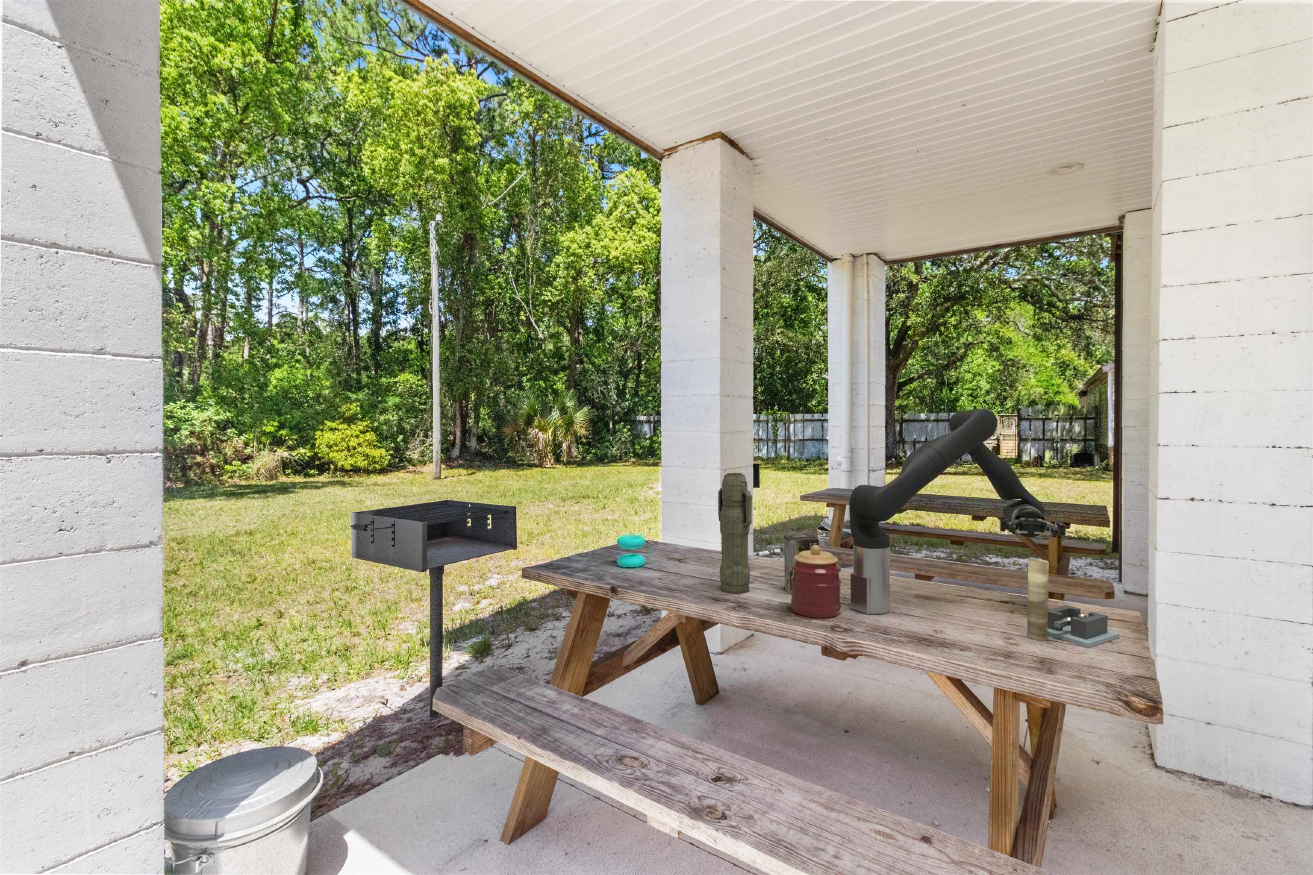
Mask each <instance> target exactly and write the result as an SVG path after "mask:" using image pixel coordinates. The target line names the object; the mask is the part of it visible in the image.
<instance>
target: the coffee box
mask: <svg viewBox="0 0 1313 875" xmlns="http://www.w3.org/2000/svg"><path fill="white" fill-rule="evenodd" d="M783 536H784V537H783V543H784V544H783V546H784V548H783V550H784V552H783V554H784V557H783V558H784V560H783V562H784V566H783V567H784V589H785V590H786V591H787V592H788V593H789V594H790V593H792V580H791V577H792V576H793V569H792V568H791V565H792V564H793V563H794V562H795V561H796V560H795V559H794V556H796V555H797V554H799V553H800V552H802V551H808V550H811V547H812V546H813V545H818V546H819V547H820V539H819V538H818V537H817V536H815V535H814V534H796V535H794V534H793V535H783Z"/></svg>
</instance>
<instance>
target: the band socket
mask: <svg viewBox="0 0 1313 875" xmlns="http://www.w3.org/2000/svg"><path fill="white" fill-rule="evenodd" d="M1089 612H1090V611H1089ZM1095 612H1096V611H1092V612H1090V613H1088V617H1087V618H1083V619H1081V618H1078V617H1077V616H1078V614H1080V613H1081V608H1079V607H1075V606H1072V605H1071V606H1070V605H1067V604H1064V605H1062V606H1061V605H1060V606H1058V607H1054V608H1050V609H1049V608H1048V636H1049V637H1051V638H1055V639H1057V640H1058V639H1059V640H1062V641H1065V642H1068V643H1071V644H1074V645H1078V646H1080V647H1083V648H1087V649H1089V648H1093V647H1095V646H1099V645H1101V644H1104V643H1107V642H1110V641H1113V640H1116V639H1119V638H1120V633H1119V632H1116V631H1112V630H1110V629H1109V630H1108V626H1109V625H1108V624H1109V622H1108V621H1109V619H1108V618H1109V616H1108V615H1106V614H1101V613H1098V612H1096V613H1095ZM1066 617H1070V618H1071V626H1066V627H1062V628H1057V627H1054V621H1058V620H1062V619H1065V618H1066ZM1048 636H1047V637H1048Z"/></svg>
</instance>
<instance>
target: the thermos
mask: <svg viewBox="0 0 1313 875" xmlns="http://www.w3.org/2000/svg"><path fill="white" fill-rule="evenodd" d="M717 505H718V506H717V509H718V510H717V513H718V521H719V532H720V535H721V563H720V566H719V581H720V582H719V583H720V588H719V589H720V591H721V592H723V593H725V594H730V595H744V594H746V593H749V592H750V583H751V568H750V565H749V534H750V526H751V524H752V522H753V521H752V516H753V515H752V514H753V513H752V510H753V507H752V506H753V495H752V492H751V490H748V481H747V478H746V475H745V474H743V472H728V473H726V474H724V476H723V479H722V482H721V487H720V488H719V490H718V492H717Z"/></svg>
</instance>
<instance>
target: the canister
mask: <svg viewBox="0 0 1313 875" xmlns="http://www.w3.org/2000/svg"><path fill="white" fill-rule="evenodd" d="M794 559H795V560H796V561H795V562H794V563H793V564H792V565H791V568H792V569H793V576H792V577H791V580H792V594H791V598H790V605H791V610H792V611H793V613H796V614H797V615H800V616H804V617H808V618H817V619H821V618H822V619H823V618H825V619H827V618H833V617H836V616H838V615H839V614H840V613H841V609H842V602H841V584H842V580H841V578H840V572H841V571H842V568H841V566H840V565H839V564H838V561H839V558H837V556H835V555H833V553H831V552H828V551H824V550H822V549H821V547H820V545H819V546H818V545H813V546H812V547H811V550H808V551H802V552H800V553H799V554H797V555H796V556H794Z"/></svg>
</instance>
